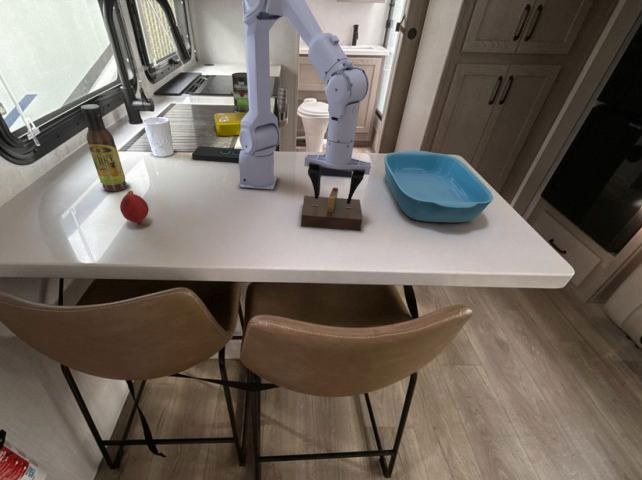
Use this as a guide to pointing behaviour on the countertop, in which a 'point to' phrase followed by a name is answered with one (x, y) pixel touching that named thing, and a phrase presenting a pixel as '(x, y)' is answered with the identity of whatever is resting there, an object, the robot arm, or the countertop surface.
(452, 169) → the casserole dish
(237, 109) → the coffee can
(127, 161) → the countertop surface
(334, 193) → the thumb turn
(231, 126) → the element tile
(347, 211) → the plate
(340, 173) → the push button box
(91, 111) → the sauce bottle
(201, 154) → the smart home device
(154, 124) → the white cup
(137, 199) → the onion
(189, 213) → the countertop surface
